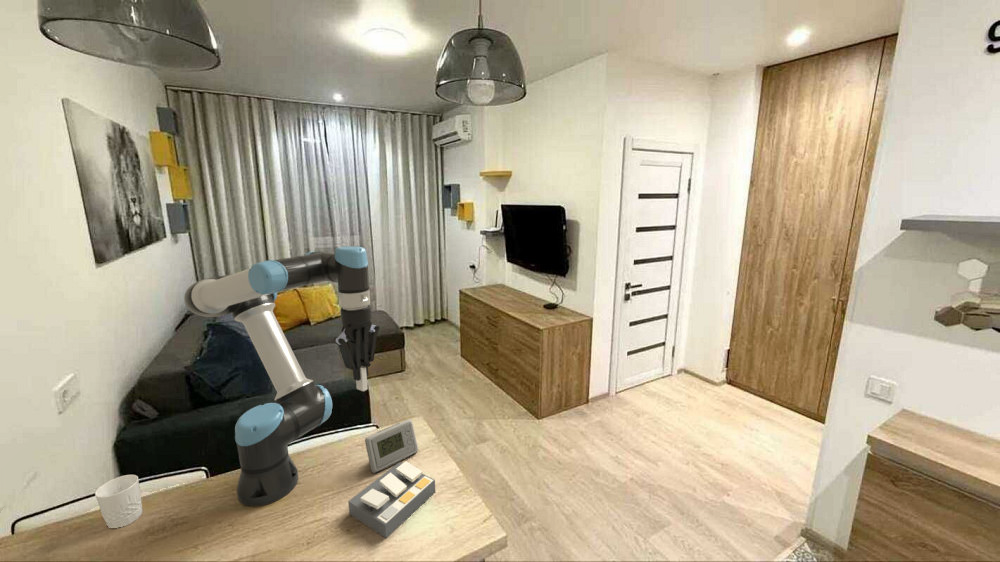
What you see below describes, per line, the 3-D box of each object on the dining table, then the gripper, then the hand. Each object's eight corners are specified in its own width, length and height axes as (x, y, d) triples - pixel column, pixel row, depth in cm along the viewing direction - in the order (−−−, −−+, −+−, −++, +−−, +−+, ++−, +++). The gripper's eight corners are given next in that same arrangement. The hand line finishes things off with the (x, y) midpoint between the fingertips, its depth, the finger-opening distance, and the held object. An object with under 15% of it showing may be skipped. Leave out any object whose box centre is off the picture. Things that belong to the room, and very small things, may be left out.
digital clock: (370, 476, 116) (368, 445, 113) (363, 459, 123) (361, 429, 121) (422, 458, 124) (421, 428, 122) (413, 443, 131) (411, 415, 129)
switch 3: (395, 473, 110) (396, 468, 109) (405, 465, 113) (405, 461, 113) (412, 484, 107) (412, 479, 106) (421, 476, 110) (422, 471, 109)
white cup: (144, 502, 106) (137, 470, 104) (146, 518, 100) (138, 485, 98) (104, 518, 101) (95, 485, 98) (103, 537, 95) (94, 502, 93)
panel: (349, 514, 102) (348, 499, 101) (400, 473, 117) (399, 460, 116) (386, 538, 95) (385, 522, 94) (435, 492, 110) (434, 478, 109)
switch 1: (361, 503, 100) (360, 497, 100) (373, 493, 103) (372, 488, 103) (378, 511, 97) (377, 505, 96) (389, 501, 100) (388, 496, 100)
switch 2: (379, 485, 105) (379, 480, 104) (389, 476, 108) (390, 472, 107) (395, 499, 102) (396, 494, 101) (406, 490, 105) (406, 485, 105)
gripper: (342, 314, 93) (350, 403, 99) (384, 302, 104) (390, 383, 109) (323, 310, 97) (332, 395, 102) (366, 298, 108) (372, 376, 113)
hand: (362, 389), depth 106 cm, fingers closed
